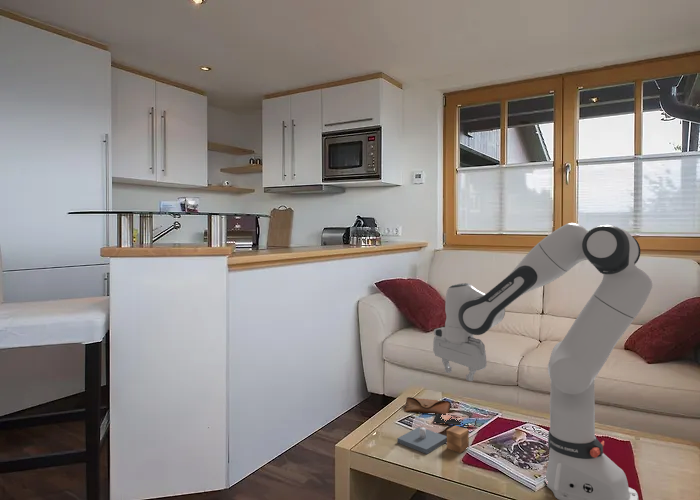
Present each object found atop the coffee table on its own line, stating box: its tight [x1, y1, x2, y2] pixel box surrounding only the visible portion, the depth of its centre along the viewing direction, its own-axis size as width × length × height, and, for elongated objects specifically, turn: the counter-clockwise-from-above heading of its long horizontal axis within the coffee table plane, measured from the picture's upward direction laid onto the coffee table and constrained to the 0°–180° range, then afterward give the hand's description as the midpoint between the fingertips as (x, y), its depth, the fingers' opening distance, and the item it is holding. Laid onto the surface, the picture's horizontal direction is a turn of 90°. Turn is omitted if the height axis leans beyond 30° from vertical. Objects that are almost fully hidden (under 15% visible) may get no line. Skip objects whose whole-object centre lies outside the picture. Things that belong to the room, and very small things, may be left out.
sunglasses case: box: [403, 396, 452, 414], centre depth 185 cm, size 18×7×7 cm, turn 73°
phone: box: [432, 414, 478, 426], centre depth 173 cm, size 8×1×15 cm
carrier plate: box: [396, 426, 447, 455], centre depth 158 cm, size 12×12×4 cm
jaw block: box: [446, 425, 470, 454], centre depth 153 cm, size 5×5×6 cm
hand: (458, 376), depth 152 cm, fingers open, 8 cm apart
